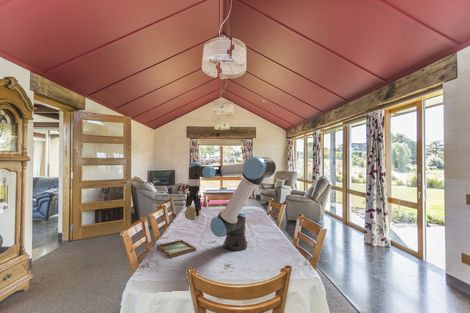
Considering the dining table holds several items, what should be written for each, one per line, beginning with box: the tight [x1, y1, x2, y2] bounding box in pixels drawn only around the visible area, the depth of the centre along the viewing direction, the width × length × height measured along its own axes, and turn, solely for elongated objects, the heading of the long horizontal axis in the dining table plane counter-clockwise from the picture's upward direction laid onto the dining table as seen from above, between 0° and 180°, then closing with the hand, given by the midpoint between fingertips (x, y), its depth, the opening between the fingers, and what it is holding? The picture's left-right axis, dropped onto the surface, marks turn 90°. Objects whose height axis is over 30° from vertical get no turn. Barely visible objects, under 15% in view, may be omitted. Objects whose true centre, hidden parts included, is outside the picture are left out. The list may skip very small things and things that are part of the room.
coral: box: [184, 204, 202, 221], centre depth 159 cm, size 10×10×10 cm
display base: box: [156, 239, 197, 259], centre depth 145 cm, size 17×17×2 cm
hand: (192, 219), depth 159 cm, fingers closed on coral, 9 cm apart
